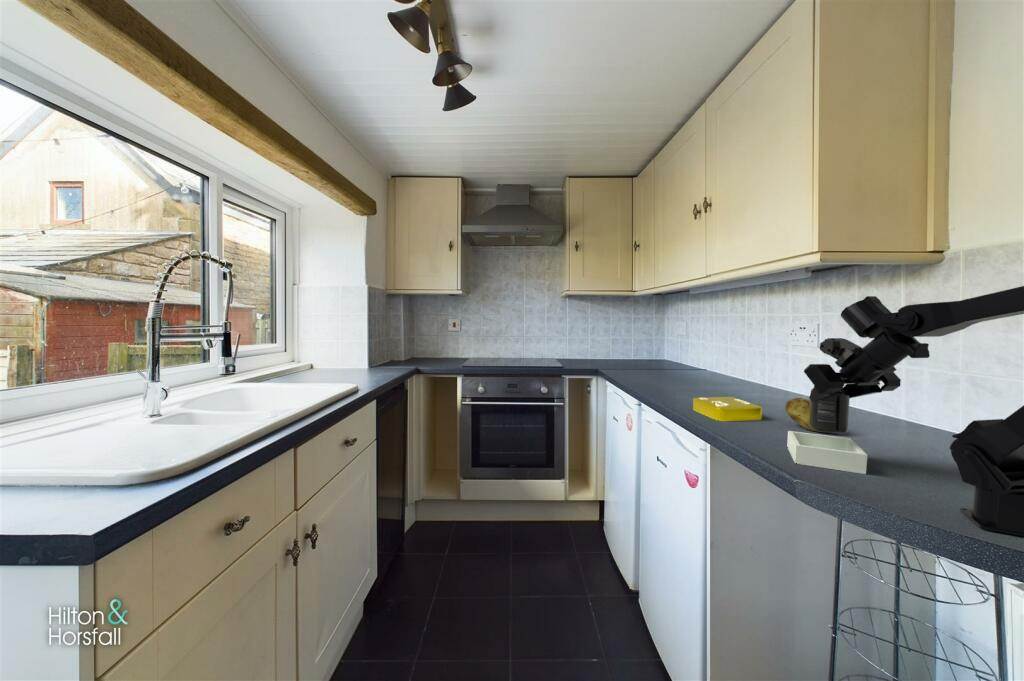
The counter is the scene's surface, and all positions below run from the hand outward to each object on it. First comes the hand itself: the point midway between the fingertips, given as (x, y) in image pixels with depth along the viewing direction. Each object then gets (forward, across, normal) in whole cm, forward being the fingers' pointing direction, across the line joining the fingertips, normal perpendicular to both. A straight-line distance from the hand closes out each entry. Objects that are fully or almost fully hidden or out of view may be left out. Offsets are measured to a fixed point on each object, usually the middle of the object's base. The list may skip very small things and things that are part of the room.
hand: (823, 399), depth 89 cm
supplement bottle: (+4, 0, +6) cm, 7 cm away
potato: (+22, -17, -4) cm, 28 cm away
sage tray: (+8, +1, +10) cm, 13 cm away
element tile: (+35, -4, -16) cm, 39 cm away
